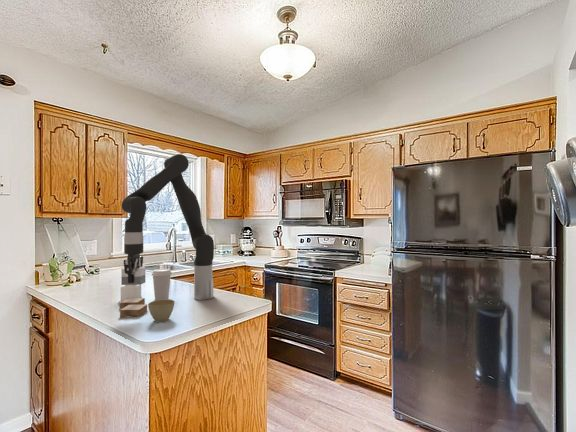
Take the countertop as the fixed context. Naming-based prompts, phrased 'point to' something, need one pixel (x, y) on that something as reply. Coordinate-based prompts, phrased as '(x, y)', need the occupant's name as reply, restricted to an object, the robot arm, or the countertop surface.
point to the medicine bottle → (130, 291)
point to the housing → (138, 276)
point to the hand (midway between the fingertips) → (133, 281)
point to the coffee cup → (161, 283)
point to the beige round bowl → (161, 309)
